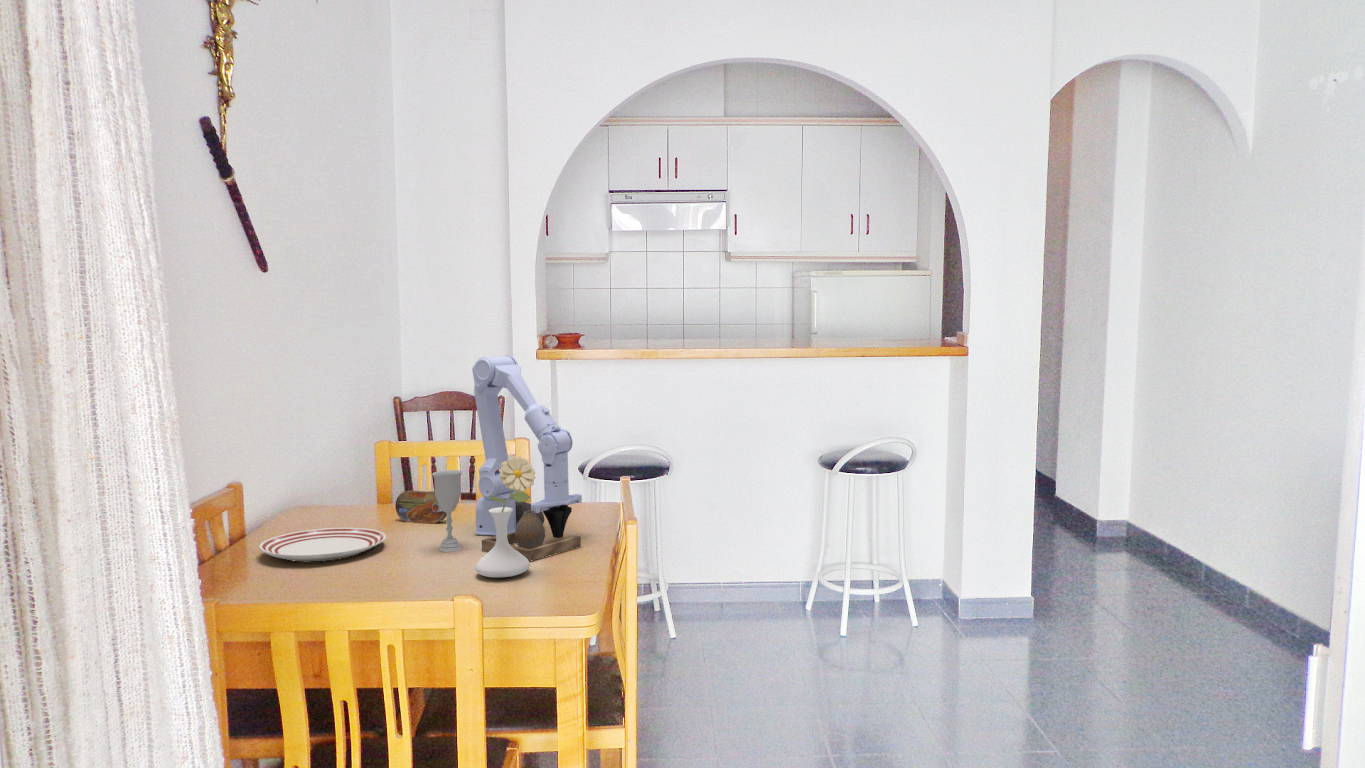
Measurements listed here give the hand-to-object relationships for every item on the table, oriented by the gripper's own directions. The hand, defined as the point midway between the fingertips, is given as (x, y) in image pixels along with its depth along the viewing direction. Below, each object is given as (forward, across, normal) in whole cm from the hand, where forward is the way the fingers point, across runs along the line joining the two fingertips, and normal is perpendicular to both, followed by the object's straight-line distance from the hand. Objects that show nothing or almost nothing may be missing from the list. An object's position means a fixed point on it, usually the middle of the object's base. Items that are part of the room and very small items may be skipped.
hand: (557, 537), depth 219 cm
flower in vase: (+1, -25, -11) cm, 27 cm away
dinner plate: (+2, -39, +37) cm, 54 cm away
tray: (+1, -8, 0) cm, 8 cm away
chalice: (+1, -20, +15) cm, 25 cm away
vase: (+1, -8, 0) cm, 8 cm away
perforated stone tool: (+1, +4, +19) cm, 20 cm away
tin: (+1, -7, +45) cm, 45 cm away
